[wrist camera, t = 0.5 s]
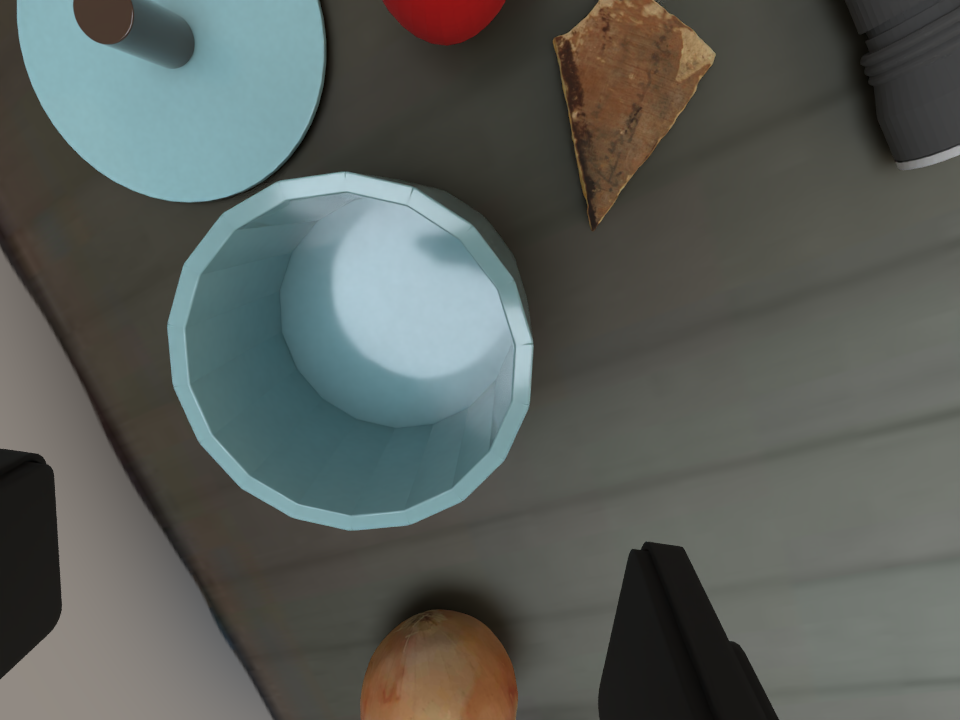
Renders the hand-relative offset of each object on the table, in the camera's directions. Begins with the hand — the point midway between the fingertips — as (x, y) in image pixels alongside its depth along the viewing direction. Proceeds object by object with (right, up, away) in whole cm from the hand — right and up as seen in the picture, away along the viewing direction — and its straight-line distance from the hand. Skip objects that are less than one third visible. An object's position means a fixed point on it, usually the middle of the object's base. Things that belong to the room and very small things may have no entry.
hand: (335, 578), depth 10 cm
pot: (-3, +6, +27) cm, 28 cm away
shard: (+11, +17, +24) cm, 31 cm away
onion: (0, -16, +33) cm, 37 cm away
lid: (-14, +21, +23) cm, 34 cm away
